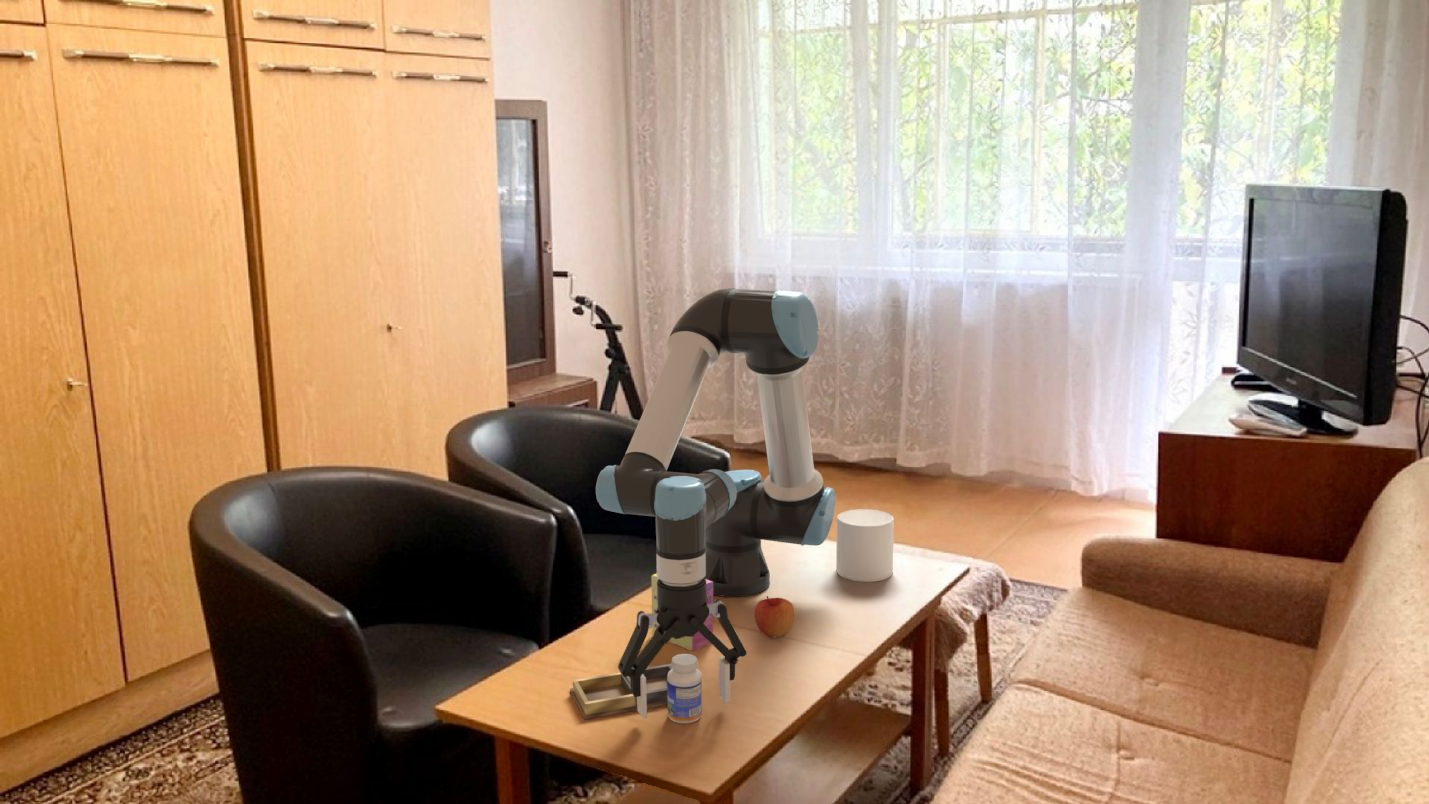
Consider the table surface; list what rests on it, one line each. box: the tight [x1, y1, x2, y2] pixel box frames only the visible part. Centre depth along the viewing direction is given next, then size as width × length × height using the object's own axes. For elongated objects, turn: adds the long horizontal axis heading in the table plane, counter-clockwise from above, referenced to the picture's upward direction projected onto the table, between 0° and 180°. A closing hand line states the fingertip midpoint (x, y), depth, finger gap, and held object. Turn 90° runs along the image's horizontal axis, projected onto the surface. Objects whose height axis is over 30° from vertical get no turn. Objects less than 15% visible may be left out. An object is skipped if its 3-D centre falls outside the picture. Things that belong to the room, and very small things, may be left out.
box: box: [650, 573, 714, 652], centre depth 206 cm, size 10×6×12 cm, turn 47°
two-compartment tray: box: [569, 663, 672, 720], centre depth 186 cm, size 18×10×2 cm, turn 110°
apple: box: [754, 596, 796, 640], centre depth 207 cm, size 7×7×8 cm
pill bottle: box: [667, 653, 703, 724], centre depth 178 cm, size 5×5×10 cm
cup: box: [835, 508, 895, 583], centre depth 238 cm, size 12×12×12 cm
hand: (683, 706), depth 179 cm, fingers open, 13 cm apart
